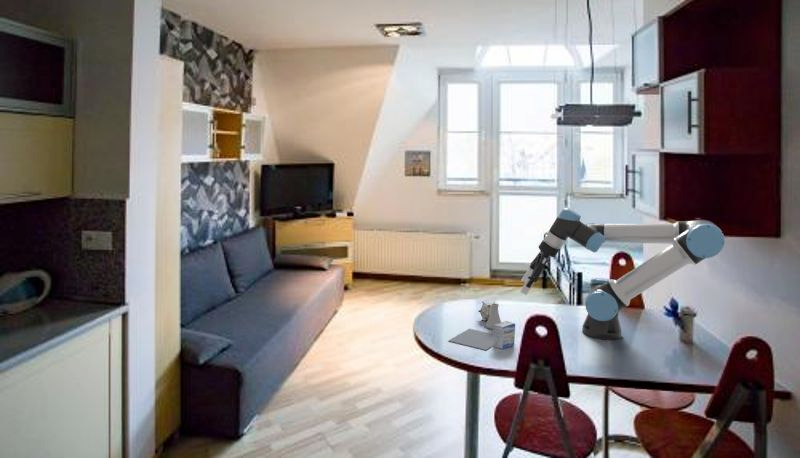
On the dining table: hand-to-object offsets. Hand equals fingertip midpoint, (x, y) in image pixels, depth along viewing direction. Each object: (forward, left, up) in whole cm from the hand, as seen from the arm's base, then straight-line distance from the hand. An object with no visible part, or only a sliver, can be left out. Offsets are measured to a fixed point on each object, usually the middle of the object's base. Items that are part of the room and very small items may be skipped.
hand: (523, 287), depth 221 cm
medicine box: (-1, +20, -19) cm, 27 cm away
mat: (+10, +20, -19) cm, 29 cm away
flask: (+11, +2, -19) cm, 22 cm away
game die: (+17, -5, -19) cm, 26 cm away
